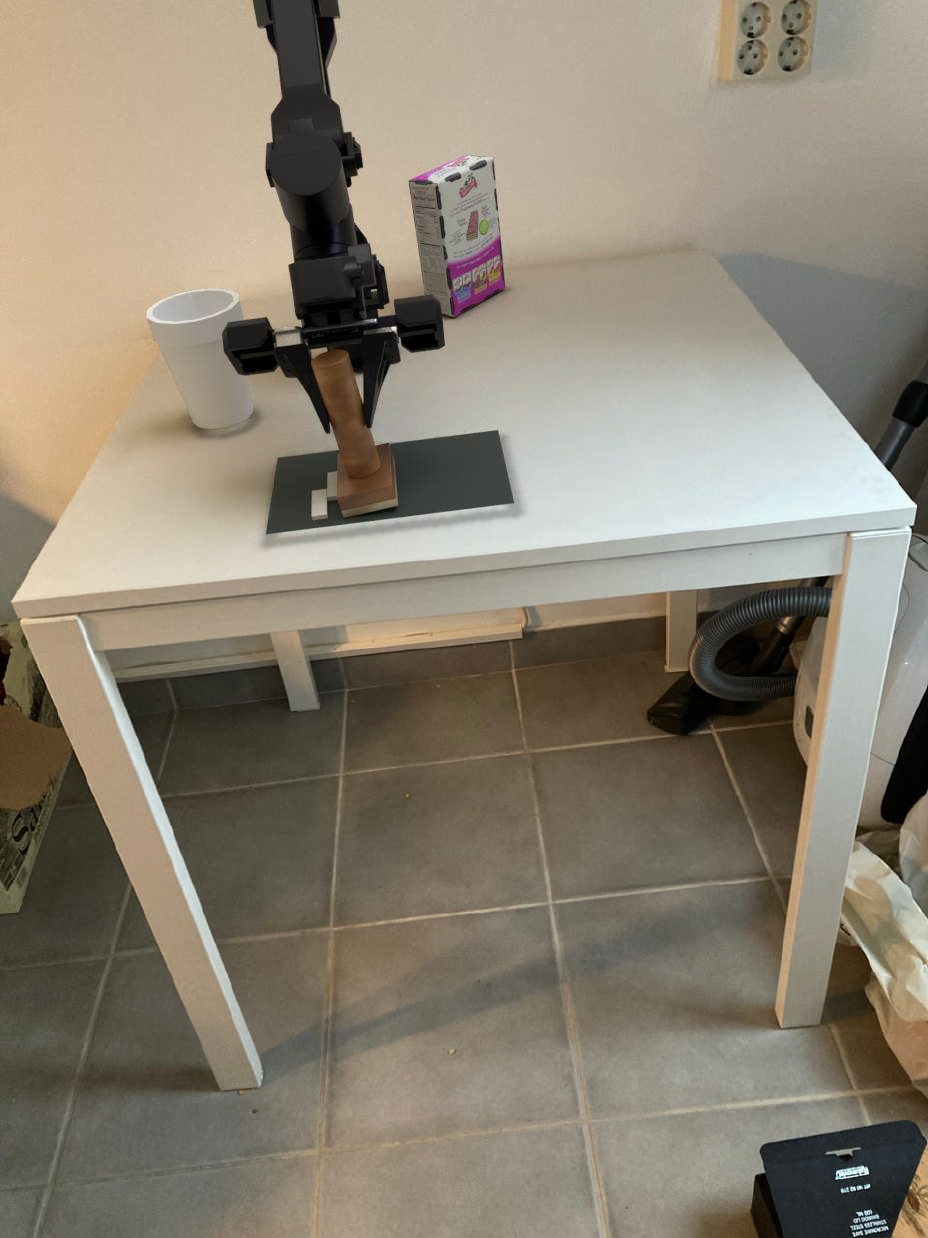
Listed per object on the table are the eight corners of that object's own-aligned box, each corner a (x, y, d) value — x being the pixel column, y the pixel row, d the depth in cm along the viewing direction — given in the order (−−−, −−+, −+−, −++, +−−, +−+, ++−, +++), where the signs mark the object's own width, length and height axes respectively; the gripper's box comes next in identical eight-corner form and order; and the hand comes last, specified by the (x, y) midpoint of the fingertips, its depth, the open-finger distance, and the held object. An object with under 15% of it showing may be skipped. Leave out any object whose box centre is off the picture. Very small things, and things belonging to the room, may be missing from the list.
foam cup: (194, 452, 102) (157, 331, 94) (172, 419, 109) (136, 304, 101) (280, 424, 105) (251, 305, 97) (253, 395, 112) (224, 281, 104)
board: (267, 543, 87) (265, 534, 86) (279, 466, 98) (277, 457, 97) (515, 512, 87) (514, 502, 86) (498, 438, 98) (498, 429, 97)
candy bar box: (477, 283, 133) (464, 153, 123) (506, 289, 130) (496, 156, 120) (423, 312, 126) (406, 177, 116) (453, 319, 124) (438, 181, 114)
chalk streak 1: (312, 520, 87) (311, 516, 87) (312, 495, 91) (311, 490, 90) (328, 518, 87) (327, 513, 87) (327, 493, 91) (326, 488, 90)
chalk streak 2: (327, 501, 90) (326, 496, 89) (328, 476, 93) (327, 472, 93) (343, 499, 90) (342, 494, 89) (343, 474, 93) (342, 470, 93)
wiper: (343, 518, 87) (298, 384, 79) (343, 474, 93) (302, 345, 85) (398, 505, 87) (358, 370, 79) (394, 462, 93) (358, 332, 85)
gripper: (195, 226, 78) (215, 413, 76) (426, 194, 79) (453, 380, 77) (230, 290, 90) (248, 455, 88) (433, 262, 90) (456, 426, 88)
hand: (347, 429), depth 84 cm, fingers closed on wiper, 3 cm apart
